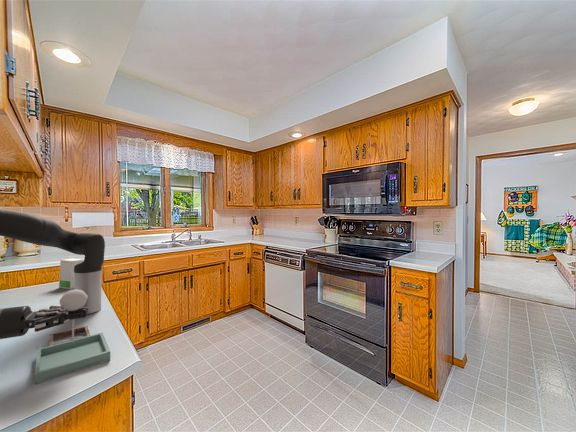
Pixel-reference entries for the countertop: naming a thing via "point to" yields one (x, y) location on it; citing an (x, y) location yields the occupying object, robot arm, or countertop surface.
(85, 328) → the square wooden frame
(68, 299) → the lollipop
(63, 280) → the skincare box
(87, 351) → the tray
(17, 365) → the countertop surface
